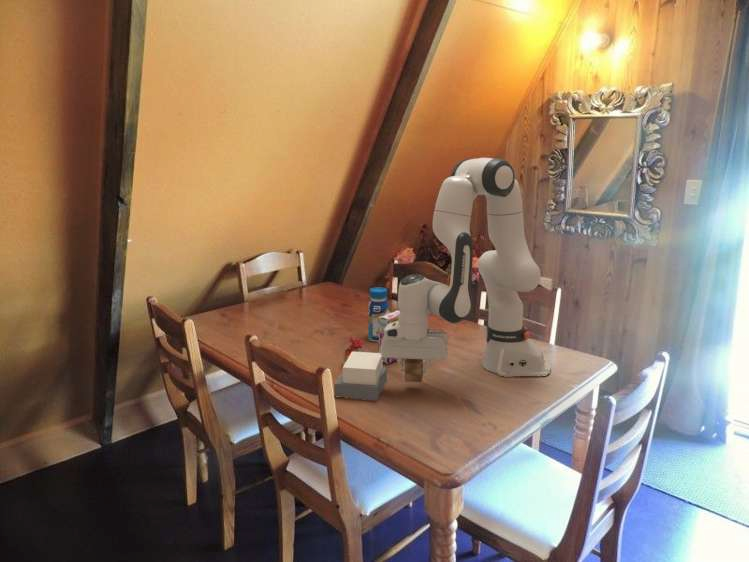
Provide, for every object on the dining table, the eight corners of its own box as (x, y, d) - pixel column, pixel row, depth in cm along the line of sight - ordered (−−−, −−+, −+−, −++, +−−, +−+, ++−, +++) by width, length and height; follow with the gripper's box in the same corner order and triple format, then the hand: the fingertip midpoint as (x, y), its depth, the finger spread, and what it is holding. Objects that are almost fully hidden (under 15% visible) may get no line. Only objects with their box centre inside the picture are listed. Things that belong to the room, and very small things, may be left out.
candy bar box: (389, 365, 191) (388, 319, 187) (377, 361, 194) (377, 317, 190) (408, 355, 200) (408, 312, 196) (397, 352, 203) (397, 309, 199)
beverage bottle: (376, 333, 223) (375, 285, 218) (393, 337, 218) (393, 288, 213) (363, 339, 216) (362, 290, 211) (381, 344, 211) (381, 293, 206)
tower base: (386, 381, 179) (386, 367, 178) (376, 402, 165) (376, 387, 164) (347, 378, 182) (347, 364, 181) (334, 398, 168) (334, 383, 167)
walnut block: (423, 375, 173) (422, 357, 172) (421, 382, 169) (421, 363, 167) (407, 374, 174) (406, 356, 173) (404, 381, 170) (404, 363, 168)
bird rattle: (342, 374, 189) (361, 370, 184) (331, 343, 189) (350, 338, 184) (353, 368, 194) (373, 364, 189) (343, 338, 194) (362, 333, 189)
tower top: (382, 367, 178) (382, 353, 176) (375, 385, 165) (375, 369, 164) (352, 366, 179) (351, 351, 178) (343, 382, 167) (342, 367, 166)
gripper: (448, 326, 168) (448, 368, 172) (382, 324, 172) (383, 365, 176) (447, 333, 162) (447, 377, 166) (378, 331, 166) (379, 373, 170)
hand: (414, 371), depth 171 cm, fingers closed on walnut block, 5 cm apart
